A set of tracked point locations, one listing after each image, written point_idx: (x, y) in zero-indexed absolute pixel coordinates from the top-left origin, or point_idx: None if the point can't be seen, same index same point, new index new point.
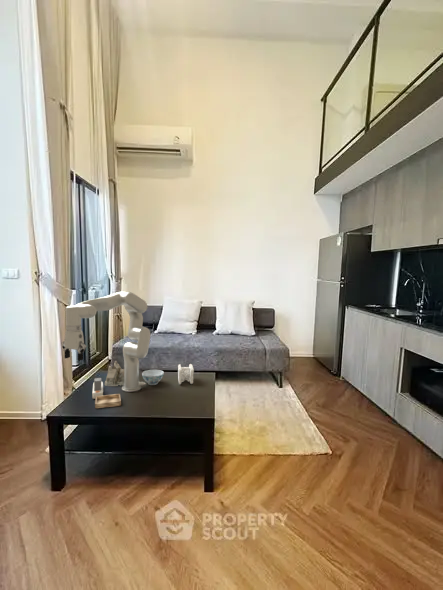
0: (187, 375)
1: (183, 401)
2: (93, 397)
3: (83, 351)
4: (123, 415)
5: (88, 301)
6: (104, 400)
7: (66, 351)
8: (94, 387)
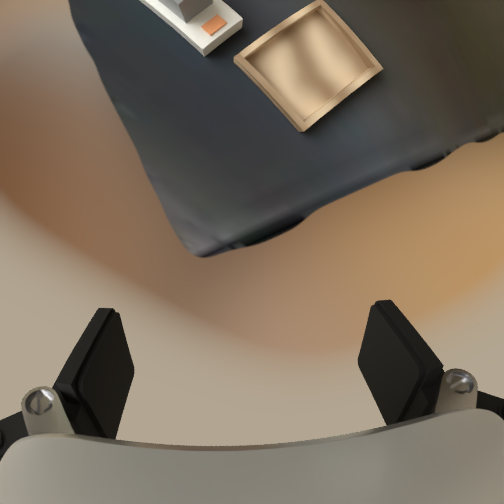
0: None
1: (499, 16)
2: (208, 51)
3: (477, 406)
4: (429, 147)
5: None
6: (282, 55)
7: (103, 434)
8: (184, 16)
